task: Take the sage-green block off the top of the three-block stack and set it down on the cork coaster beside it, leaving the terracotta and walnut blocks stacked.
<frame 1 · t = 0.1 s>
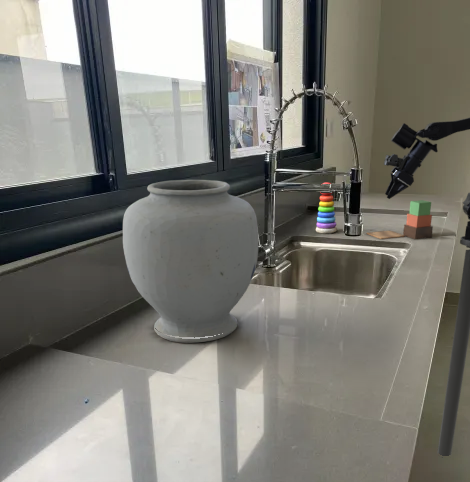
hand: (387, 196, 176), 15 cm above the worktop, tool tilted 30°, fingers open, 9 cm apart
cork coaster: (385, 235, 184), on the worktop
walnut block: (417, 236, 180), on the worktop, touching terracotta block
grey vase: (196, 328, 106), on the worktop
stacking toy: (326, 232, 192), on the worktop
terracotta block: (418, 225, 179), point 4 cm above the worktop, touching green block, walnut block
green block: (419, 214, 178), point 8 cm above the worktop, touching terracotta block
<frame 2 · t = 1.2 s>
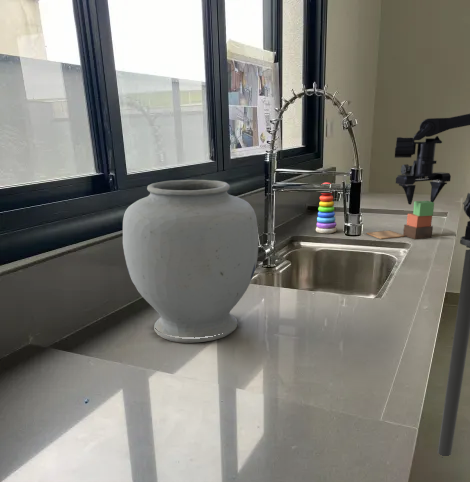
hand: (420, 203, 176), 12 cm above the worktop, tool pointing down, fingers open, 9 cm apart
green block: (422, 214, 177), point 8 cm above the worktop, touching terracotta block
everything else where it was.
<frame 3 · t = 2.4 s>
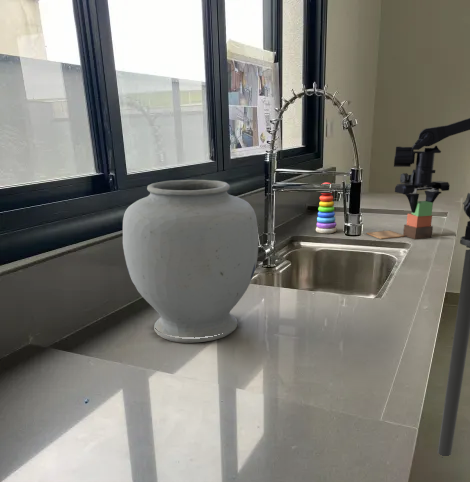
hand: (419, 212, 177), 9 cm above the worktop, tool pointing down, fingers closed on green block, 5 cm apart
green block: (421, 214, 176), point 8 cm above the worktop, touching gripper, terracotta block
everything else where it was.
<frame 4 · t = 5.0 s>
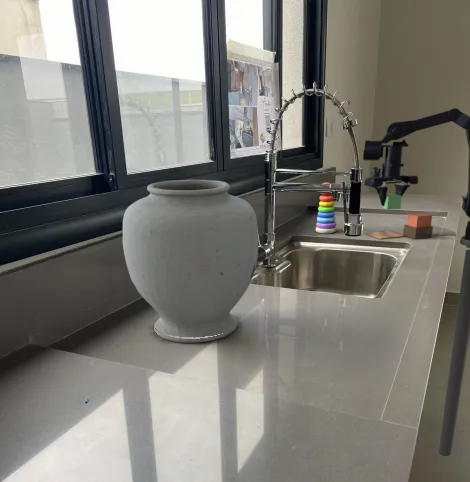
hand: (389, 205, 180), 11 cm above the worktop, tool pointing down, fingers closed on green block, 5 cm apart
terracotta block: (418, 225, 179), point 4 cm above the worktop, touching walnut block
green block: (390, 208, 179), point 10 cm above the worktop, touching gripper
everything else where it was.
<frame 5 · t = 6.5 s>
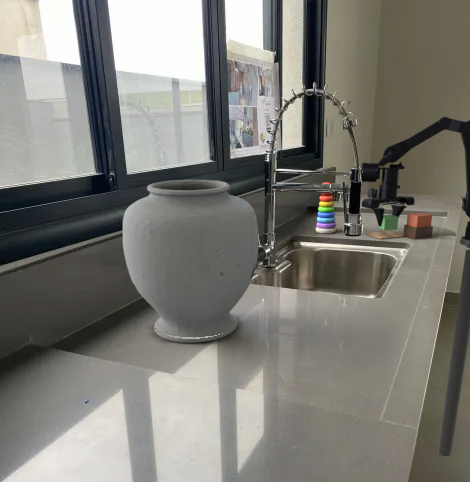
hand: (386, 225, 183), 4 cm above the worktop, tool pointing down, fingers closed on green block, 5 cm apart
green block: (387, 228, 182), point 3 cm above the worktop, touching gripper
everything else where it was.
when the fingers open (1 cm above the worktop, at t = 7.6 s): green block stays where it is, resting on cork coaster.
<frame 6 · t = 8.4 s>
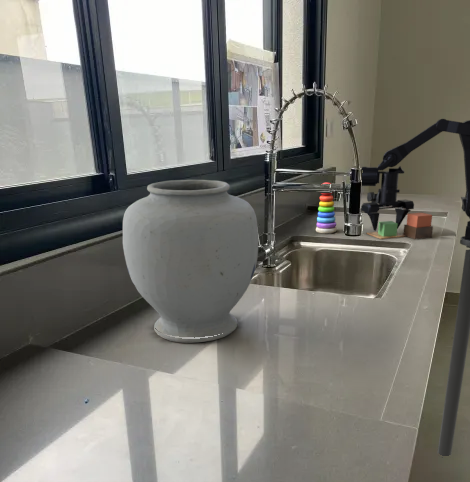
hand: (385, 229, 183), 2 cm above the worktop, tool pointing down, fingers open, 9 cm apart
green block: (387, 234, 182), resting on cork coaster
everything else where it was.
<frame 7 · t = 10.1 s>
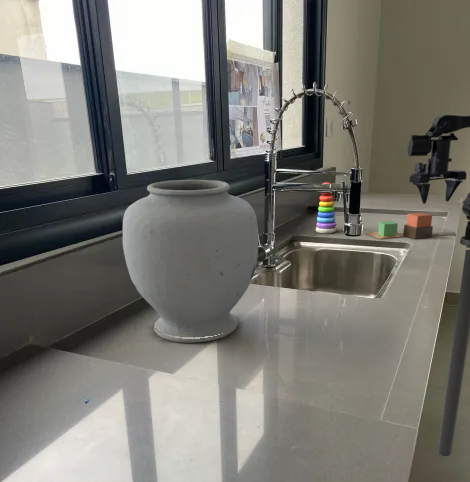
hand: (435, 202, 171), 13 cm above the worktop, tool pointing down, fingers open, 9 cm apart
nothing on the worktop moved.
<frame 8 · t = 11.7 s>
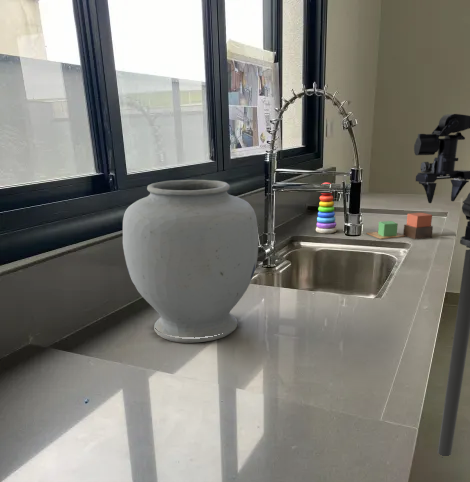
hand: (441, 202, 170), 13 cm above the worktop, tool pointing down, fingers open, 9 cm apart
nothing on the worktop moved.
at the end: green block inside the target area on the cork coaster (1.3 cm from its centre), point 0.4 cm above the cork coaster's base; green block touching cork coaster; terracotta block moved 0.1 cm from its start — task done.
